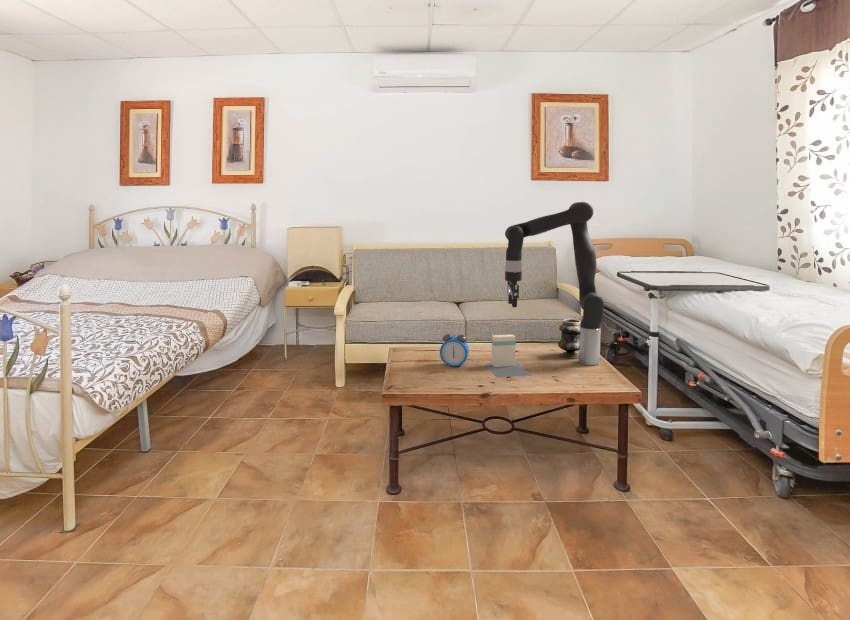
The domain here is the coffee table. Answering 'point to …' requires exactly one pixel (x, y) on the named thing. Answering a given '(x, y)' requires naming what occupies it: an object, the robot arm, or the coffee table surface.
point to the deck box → (503, 350)
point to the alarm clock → (454, 350)
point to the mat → (508, 370)
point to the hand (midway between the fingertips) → (512, 305)
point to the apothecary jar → (570, 338)
